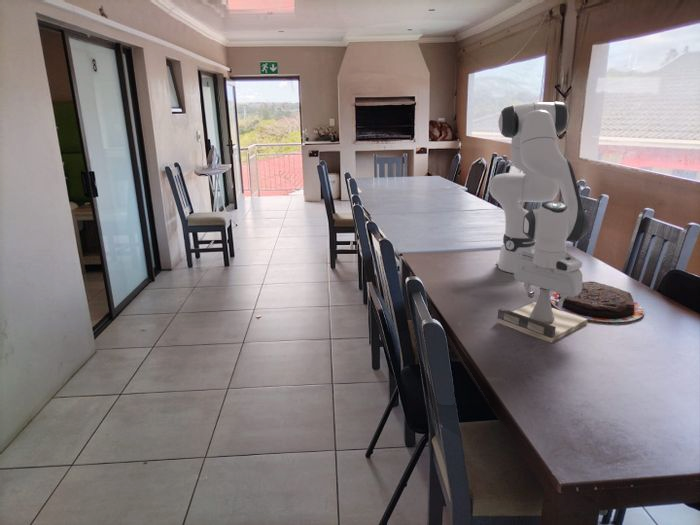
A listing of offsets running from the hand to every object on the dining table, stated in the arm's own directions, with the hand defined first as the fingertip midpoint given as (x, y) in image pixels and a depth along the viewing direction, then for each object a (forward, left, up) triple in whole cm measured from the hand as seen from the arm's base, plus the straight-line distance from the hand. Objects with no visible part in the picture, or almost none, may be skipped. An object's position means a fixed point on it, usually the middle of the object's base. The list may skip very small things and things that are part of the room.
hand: (544, 301), depth 145 cm
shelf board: (0, 0, -7) cm, 7 cm away
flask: (0, 0, -6) cm, 6 cm away
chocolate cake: (-25, +4, -8) cm, 26 cm away
